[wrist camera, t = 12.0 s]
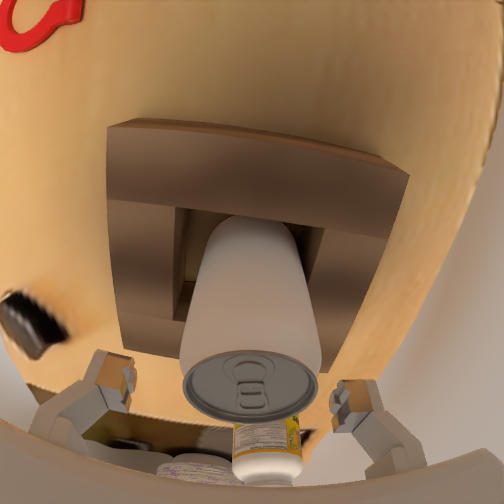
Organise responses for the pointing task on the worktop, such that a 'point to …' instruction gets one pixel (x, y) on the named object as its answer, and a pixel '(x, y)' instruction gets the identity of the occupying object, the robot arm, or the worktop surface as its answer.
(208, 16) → the worktop surface
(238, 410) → the can
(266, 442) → the supplement bottle
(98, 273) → the worktop surface
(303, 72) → the worktop surface
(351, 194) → the holder
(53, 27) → the tow hook
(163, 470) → the paper bowls
